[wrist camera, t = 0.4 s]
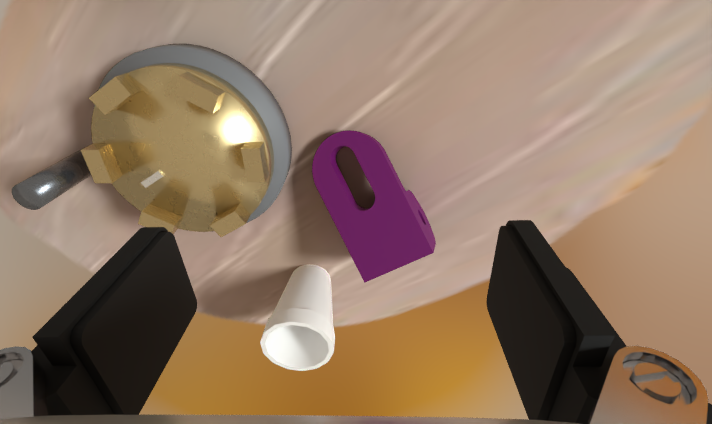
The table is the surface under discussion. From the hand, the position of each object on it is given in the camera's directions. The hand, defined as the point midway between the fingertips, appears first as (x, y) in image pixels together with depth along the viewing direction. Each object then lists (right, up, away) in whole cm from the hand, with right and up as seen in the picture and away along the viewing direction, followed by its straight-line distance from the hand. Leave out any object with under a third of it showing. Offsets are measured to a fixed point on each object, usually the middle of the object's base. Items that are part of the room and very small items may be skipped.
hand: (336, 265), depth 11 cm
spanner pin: (-35, +8, +38) cm, 53 cm away
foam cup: (-7, -9, +48) cm, 49 cm away
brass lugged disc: (-19, +9, +34) cm, 40 cm away
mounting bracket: (+2, +5, +39) cm, 40 cm away
